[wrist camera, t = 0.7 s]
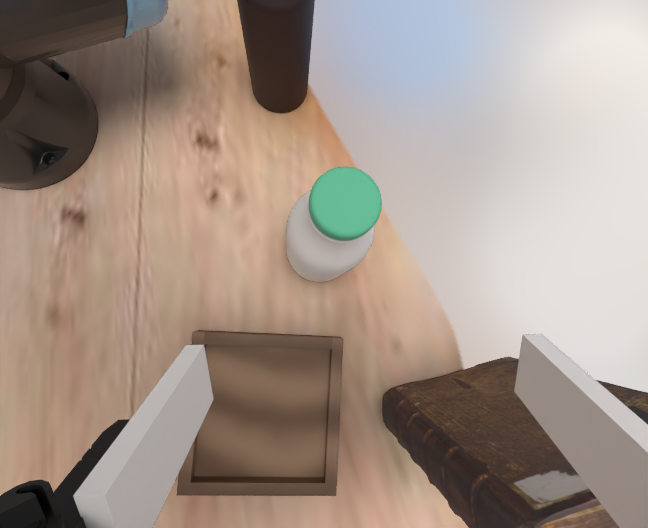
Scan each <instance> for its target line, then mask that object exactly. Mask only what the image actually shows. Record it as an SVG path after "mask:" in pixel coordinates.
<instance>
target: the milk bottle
mask: <svg viewBox="0 0 648 528" xmlns="http://www.w3.org/2000/svg"><path fill="white" fill-rule="evenodd" d="M381 205H382V201H381V195H380V191H379V189H378V186H377V185H376V183H375V182H374V180H373V179H372V178H371V177H370V176H369V175H367V174H366V173H365V172H363V171H361V170H359V169H356V168H352V167H337V168H334V169H331V170H329V171H327V172H326V173H324V174H323V175H321V176H320V177H319V178H318V179H317V181H316V182H315V184H314V185H313V187H312V190H310V191H308V192H307V193H305V194H304V195H303V196H302V197H301V198H300V199H299V200H298V201H297V202H296V204H295V205H294V207H293V208H292V210H291V212H290V215H289V218H288V222H287V228H286V249H287V256H288V259H289V262H290V264H291V266H292V268H293V269H294V270H295V271H296V272H297V273H298V274H299V275H300V276H302V277H303V278H305V279H307V280H310V281H314V282H325V281H330V280H333V279H335V278H337V277H339V276H341V275H342V274H344V273H346V272H347V271H349V270H351V269H352V268H353V267H355V266H356V265H357V264H358V263H359V262H360V261H361V260H362V259H363V258H364V257H365V256H366V254H367V252H368V251H369V249H370V247H371V244H372V242H373V237H374V225H375V223H376V222H377V220H378V218H379V216H380V212H381Z"/></svg>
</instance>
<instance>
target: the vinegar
mask: <svg viewBox="0 0 648 528" xmlns="http://www.w3.org/2000/svg"><path fill="white" fill-rule="evenodd" d="M314 1H315V0H237V2H238V8H239V13H240V19H241V25H242V31H243V37H244V42H245V48H246V54H247V60H248V66H249V71H250V77H251V83H252V88H253V93H254V95H255V97H256V99H257V100H258V102H259V103H260V104H261V105H262V106H264V107H265V108H267V109H269V110H271V111H274V112H281V113H282V112H289V111H291V110H293V109H295V108H297V107H298V106H299V105H300V104H301V103H302V102H303V101H304V98H305V96H306V94H307V86H308V74H309V61H310V49H311V37H312V26H313V13H314Z"/></svg>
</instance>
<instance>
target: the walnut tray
mask: <svg viewBox="0 0 648 528" xmlns="http://www.w3.org/2000/svg"><path fill="white" fill-rule="evenodd" d="M192 345H204V347H205V353H206V359H207V364H208V370H209V376H210V382H211V387H212V393H213V402H212V404H211V406H210V408H209V410H208V412H207V414H206V416H205V418H204V421H203V423H202V425H201V427H200V429H199V431H198V433H197V435H196V437H195V440H194V442H193V444H192V446H191V448H190V450H189V452H188V454H187V456H186V459H185V461H184V463H183V465H182V467H181V469H180V471H179V478H178V488H177V495H254V496H336V486H337V464H338V442H339V421H340V399H341V377H342V355H343V338H341V337H334V336H312V335H290V334H268V333H247V332H225V331H203V330H198V331H195V332H193V335H192Z"/></svg>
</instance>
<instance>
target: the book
mask: <svg viewBox="0 0 648 528" xmlns="http://www.w3.org/2000/svg"><path fill="white" fill-rule="evenodd" d="M518 363H519V359H515V358H512V357H504V358H501V359H497V360H493V361H489V362H486V363H482V364H478V365H476V366H475V367H471V368H468V369H465V370H462V371H459V372H456V373H453V374H449V375H445V376H442V377H438V378H434V379H430V380H426V381H422V382H411V383H407V384H403V385H400V386H397V387H394V388H392V389H390V391H389V392H387V393H386V394H385V396H384V398H383V416H384V422H385V425H386V427H387V428H388V429H389V430H390V431H391V432H392V433H393V435H394V436H395V437H396V438H397V439H398V442H399V443H400V444H401V446H402V447H403V448H405V449H406V450H407V451H408V452H409V453H410V456H411V458H412V459H413V461H414V462H415V463H416V464H418V465H419V466H420V467H421V468H422V470H423V471H424V472H425V473H426V474H427V476H428V479H429V482H430V483H431V484H433V485H434V486H436V487H437V489H438V490H439V491H440V492H441V493H442V495H443V496H444V497H445V498H446V500H447V501H448V504H449V507H450V508H451V509H452V511H453V512H454V513H455V514H456V515H458V516H460V517H461V518H462V519H463V521H464V522H465V523H466V525H467V526H468V527H469V528H619V526H618V525H617V524H616V522H615V521H614V520H613V519H612V517H611V516H610V515H609V513H608V512H607V511H606V509H605V508H604V507H603V506H602V504H601V503H600V502H599V500H598V499H597V498H596V497H595V495H594V494H593V493H592V491H591V490H590V489H589V487H588V486H587V485H586V484H585V482H584V481H583V480H582V478H581V477H580V476H579V474H578V473H577V472H576V471H575V469H574V468H573V467H572V465H571V464H570V463H569V462H568V460H567V459H566V458H565V456H564V455H563V454H562V452H561V451H560V450H559V449H558V447H557V446H556V445H555V443H554V442H553V441H552V439H551V438H550V437H549V436H548V434H547V433H546V432H545V430H544V429H543V428H542V427H541V425H540V424H539V423H538V421H537V420H536V419H535V417H534V416H533V415H532V414H531V412H530V411H529V410H528V408H527V407H526V406H525V405H524V403H523V402H522V401H521V399H520V398H519V397H518V395H517V394H516V393H515V392H514V390H515V383H516V376H517V369H518ZM596 381H597V380H596ZM597 382H599V383H600V384H601V385H602V386H603V387H604V388H606V389H607V390H608V391H609V392H610V393H611V394H613V395H614V396H615V397H616V398H617V399H618V400H620V401H621V402H622V403H623V404H624V405H625V406H635V407H637V408H639V409H641V410H643V411H644V412H646V413H648V393H646V392H641V391H637V390H633V389H629V388H625V387H621V386H617V385H614V384H610V383H606V382H601V381H597Z"/></svg>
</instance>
